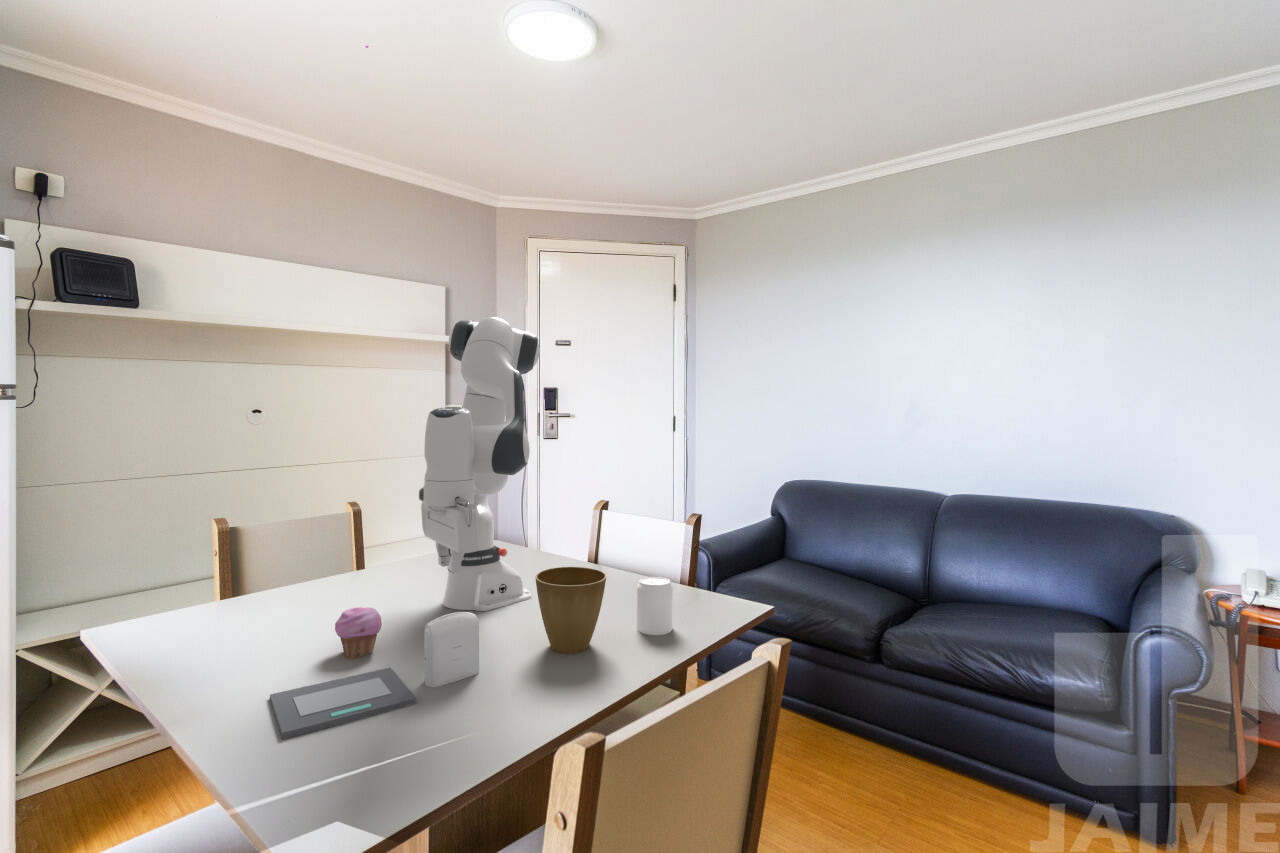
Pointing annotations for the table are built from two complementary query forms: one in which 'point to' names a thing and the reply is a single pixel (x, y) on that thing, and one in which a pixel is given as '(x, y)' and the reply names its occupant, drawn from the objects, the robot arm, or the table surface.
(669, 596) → the beverage can
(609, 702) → the table surface
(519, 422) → the robot arm
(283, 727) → the charging mat
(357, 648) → the cupcake
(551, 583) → the plant pot
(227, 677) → the table surface
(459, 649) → the photo printer
